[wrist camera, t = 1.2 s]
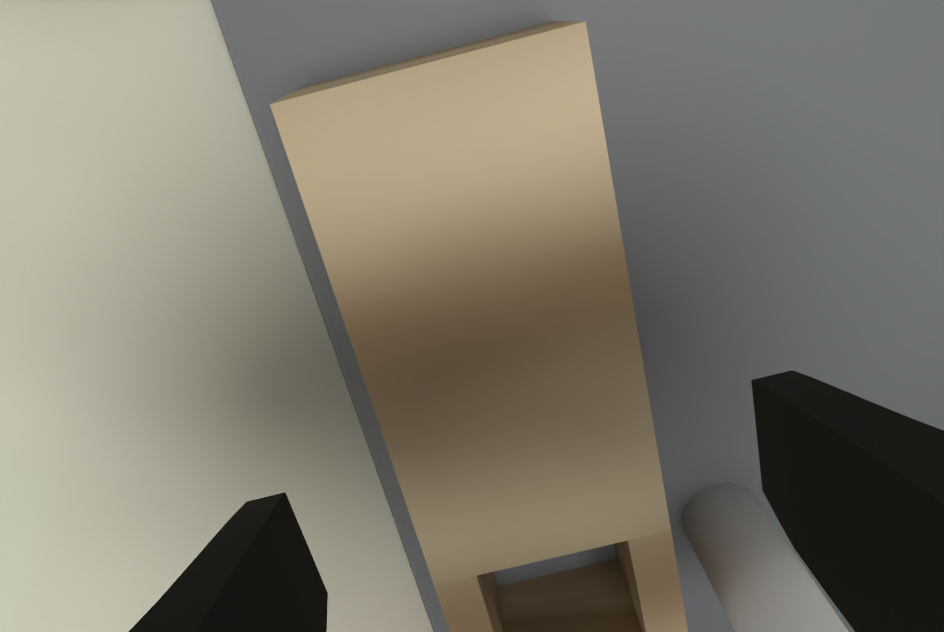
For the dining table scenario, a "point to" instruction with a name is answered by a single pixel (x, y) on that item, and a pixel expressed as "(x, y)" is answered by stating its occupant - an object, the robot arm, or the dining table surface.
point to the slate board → (700, 234)
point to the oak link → (495, 323)
